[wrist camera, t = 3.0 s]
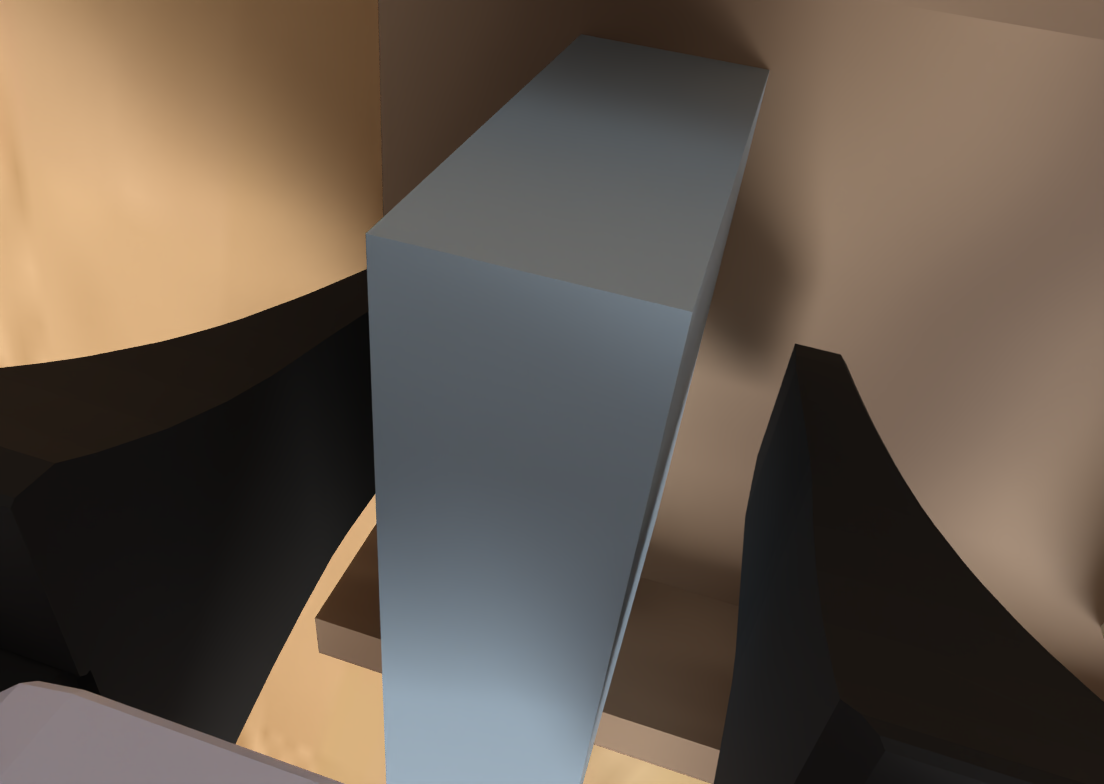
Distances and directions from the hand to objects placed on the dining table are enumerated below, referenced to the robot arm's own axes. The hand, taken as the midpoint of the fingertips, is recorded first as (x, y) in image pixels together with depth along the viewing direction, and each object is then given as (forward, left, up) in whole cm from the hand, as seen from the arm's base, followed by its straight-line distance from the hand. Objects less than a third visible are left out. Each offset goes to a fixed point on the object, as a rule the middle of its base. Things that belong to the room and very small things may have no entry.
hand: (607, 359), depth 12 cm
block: (0, 0, -1) cm, 1 cm away
